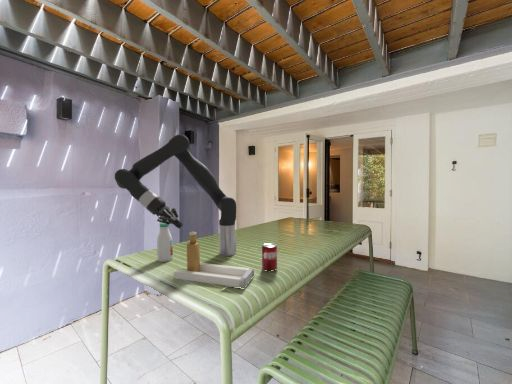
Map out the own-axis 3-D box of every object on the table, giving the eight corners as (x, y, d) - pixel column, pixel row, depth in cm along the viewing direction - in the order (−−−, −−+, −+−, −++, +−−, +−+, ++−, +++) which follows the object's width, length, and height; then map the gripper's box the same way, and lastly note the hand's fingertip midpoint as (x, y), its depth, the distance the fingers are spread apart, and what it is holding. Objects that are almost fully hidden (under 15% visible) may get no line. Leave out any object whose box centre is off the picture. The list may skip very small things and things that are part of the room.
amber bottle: (193, 270, 112) (193, 230, 111) (202, 273, 109) (201, 232, 108) (184, 275, 107) (183, 233, 106) (193, 277, 104) (192, 234, 103)
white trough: (174, 280, 104) (174, 271, 103) (190, 269, 116) (190, 261, 116) (244, 289, 94) (244, 280, 94) (253, 277, 107) (253, 268, 106)
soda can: (261, 267, 119) (261, 243, 118) (275, 266, 119) (275, 242, 119) (262, 272, 111) (262, 247, 111) (278, 272, 112) (278, 246, 111)
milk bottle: (167, 262, 125) (166, 225, 124) (154, 261, 127) (153, 224, 126) (175, 258, 133) (174, 222, 132) (163, 257, 134) (162, 221, 133)
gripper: (147, 200, 102) (178, 226, 103) (164, 192, 115) (191, 216, 115) (139, 212, 105) (169, 238, 105) (156, 203, 117) (183, 226, 118)
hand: (181, 226), depth 110 cm, fingers closed
